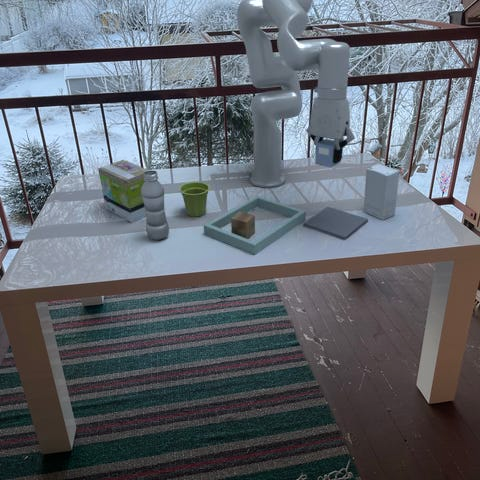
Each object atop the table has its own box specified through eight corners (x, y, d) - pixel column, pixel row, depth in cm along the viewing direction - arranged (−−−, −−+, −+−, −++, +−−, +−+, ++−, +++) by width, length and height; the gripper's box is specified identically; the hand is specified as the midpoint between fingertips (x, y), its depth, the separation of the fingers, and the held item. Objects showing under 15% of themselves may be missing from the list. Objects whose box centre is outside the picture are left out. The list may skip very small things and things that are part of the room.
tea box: (104, 209, 154) (96, 167, 147) (129, 199, 161) (123, 158, 153) (131, 223, 145) (125, 179, 138) (157, 212, 152) (152, 169, 144)
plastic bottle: (160, 244, 134) (152, 179, 124) (142, 238, 137) (132, 174, 127) (174, 234, 139) (167, 171, 128) (156, 229, 142) (148, 166, 132)
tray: (204, 234, 139) (203, 225, 137) (257, 203, 155) (257, 195, 154) (254, 254, 128) (254, 245, 127) (305, 219, 145) (305, 211, 143)
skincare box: (394, 215, 146) (402, 170, 138) (381, 221, 143) (388, 175, 136) (374, 206, 152) (380, 162, 144) (361, 211, 149) (366, 166, 142)
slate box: (315, 164, 132) (316, 143, 129) (324, 159, 135) (326, 138, 132) (330, 167, 129) (331, 146, 126) (340, 162, 132) (341, 141, 130)
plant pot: (216, 209, 153) (214, 184, 148) (202, 221, 145) (200, 196, 141) (191, 204, 156) (189, 180, 152) (176, 216, 149) (173, 191, 144)
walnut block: (231, 236, 137) (231, 218, 134) (240, 229, 141) (239, 211, 138) (246, 240, 135) (246, 222, 132) (254, 233, 139) (254, 214, 136)
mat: (303, 226, 141) (303, 223, 141) (327, 209, 151) (327, 206, 150) (345, 240, 134) (345, 237, 133) (367, 221, 143) (368, 218, 142)
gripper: (296, 92, 126) (295, 158, 134) (353, 100, 116) (348, 170, 124) (312, 87, 131) (310, 151, 139) (368, 94, 121) (362, 162, 129)
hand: (328, 159), depth 132 cm, fingers closed on slate box, 5 cm apart
